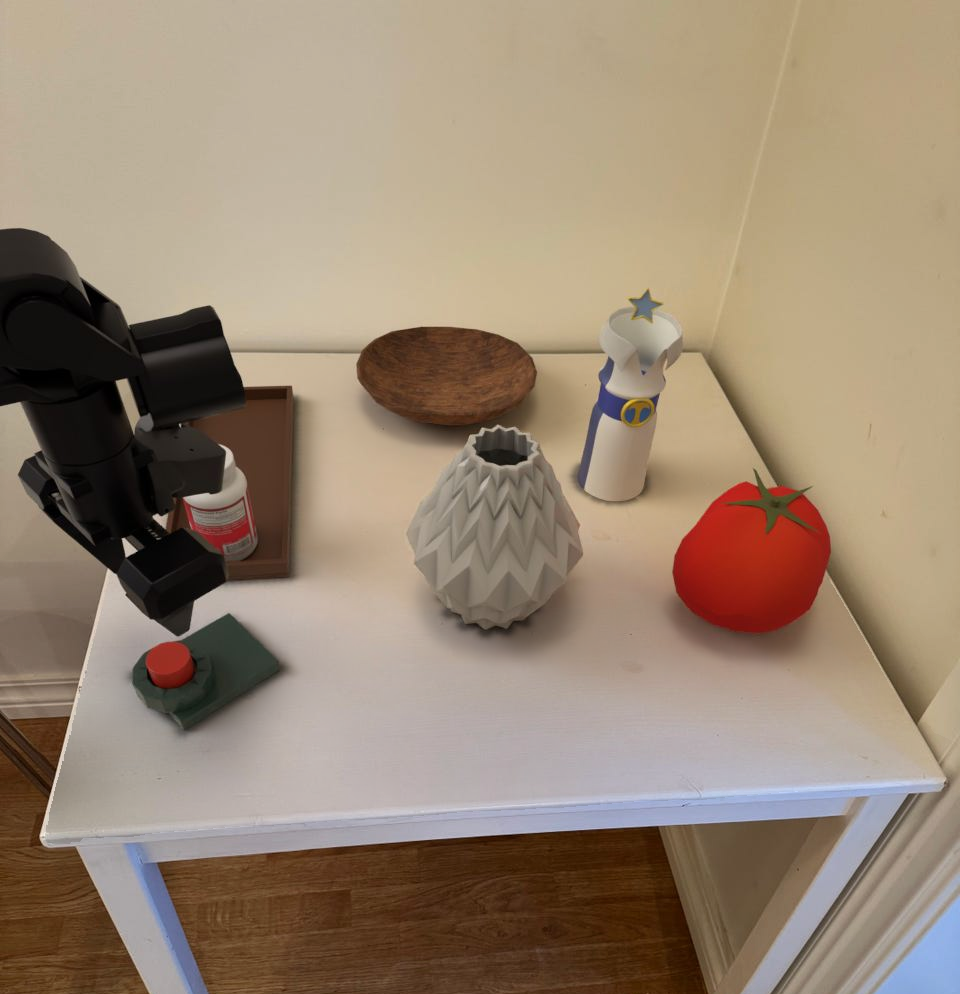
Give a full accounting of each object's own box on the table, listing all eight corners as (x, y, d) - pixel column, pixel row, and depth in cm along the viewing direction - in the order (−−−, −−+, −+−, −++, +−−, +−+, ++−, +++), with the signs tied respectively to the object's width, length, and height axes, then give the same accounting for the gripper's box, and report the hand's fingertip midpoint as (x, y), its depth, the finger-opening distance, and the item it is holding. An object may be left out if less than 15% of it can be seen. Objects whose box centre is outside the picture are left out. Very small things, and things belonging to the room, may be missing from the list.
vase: (387, 563, 88) (381, 409, 74) (533, 530, 92) (552, 379, 78) (439, 681, 78) (443, 529, 64) (600, 638, 82) (635, 487, 69)
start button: (165, 696, 72) (160, 681, 71) (143, 671, 74) (137, 656, 72) (202, 673, 74) (198, 658, 72) (180, 650, 76) (175, 634, 74)
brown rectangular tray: (289, 576, 86) (287, 562, 84) (163, 583, 84) (158, 569, 83) (293, 399, 106) (291, 385, 105) (192, 402, 105) (189, 388, 103)
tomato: (756, 548, 92) (798, 444, 82) (835, 640, 84) (892, 536, 74) (628, 580, 88) (656, 474, 78) (697, 681, 79) (738, 576, 69)
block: (170, 739, 72) (162, 718, 70) (122, 683, 76) (113, 662, 74) (281, 669, 78) (276, 648, 76) (231, 620, 81) (225, 599, 79)
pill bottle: (213, 520, 90) (192, 433, 82) (268, 532, 89) (252, 445, 81) (185, 559, 86) (160, 471, 78) (243, 572, 85) (224, 485, 77)
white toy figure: (658, 501, 97) (715, 289, 78) (585, 505, 95) (625, 292, 77) (638, 456, 102) (687, 248, 83) (569, 460, 101) (603, 250, 82)
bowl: (536, 453, 101) (540, 418, 98) (350, 445, 101) (347, 409, 97) (530, 363, 115) (534, 329, 111) (365, 355, 114) (363, 320, 110)
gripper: (273, 451, 56) (304, 611, 67) (124, 338, 64) (175, 498, 76) (118, 531, 50) (181, 690, 62) (-23, 397, 59) (57, 559, 70)
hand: (150, 600), depth 68 cm, fingers open, 9 cm apart
